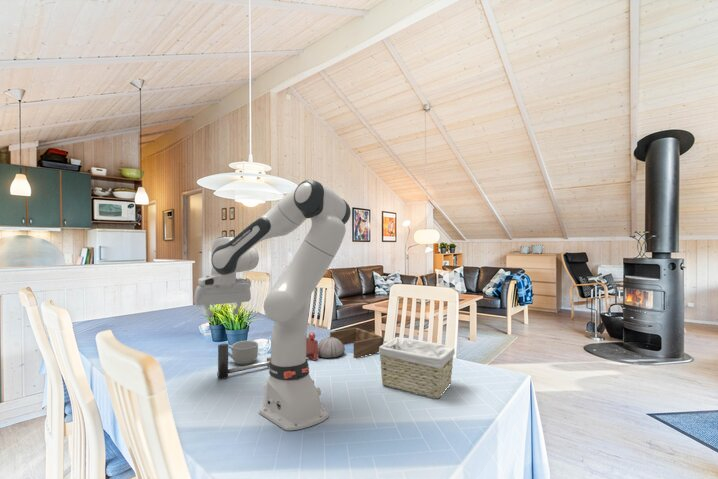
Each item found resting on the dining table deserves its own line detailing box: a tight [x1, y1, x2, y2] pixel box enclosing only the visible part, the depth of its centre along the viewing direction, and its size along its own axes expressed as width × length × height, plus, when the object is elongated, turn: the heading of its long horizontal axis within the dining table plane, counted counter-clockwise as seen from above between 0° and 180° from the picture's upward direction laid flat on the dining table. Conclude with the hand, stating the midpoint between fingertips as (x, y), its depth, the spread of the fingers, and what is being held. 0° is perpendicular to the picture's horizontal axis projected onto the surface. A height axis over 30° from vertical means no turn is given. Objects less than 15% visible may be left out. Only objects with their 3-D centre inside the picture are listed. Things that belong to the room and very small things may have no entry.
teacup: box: [228, 340, 259, 366], centre depth 150 cm, size 14×11×8 cm
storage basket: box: [378, 336, 456, 399], centre depth 127 cm, size 24×16×15 cm
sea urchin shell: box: [318, 336, 346, 359], centre depth 161 cm, size 13×14×8 cm
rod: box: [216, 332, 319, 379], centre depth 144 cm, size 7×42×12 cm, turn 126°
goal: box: [329, 327, 384, 359], centre depth 169 cm, size 22×16×7 cm
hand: (223, 315), depth 133 cm, fingers open, 8 cm apart
